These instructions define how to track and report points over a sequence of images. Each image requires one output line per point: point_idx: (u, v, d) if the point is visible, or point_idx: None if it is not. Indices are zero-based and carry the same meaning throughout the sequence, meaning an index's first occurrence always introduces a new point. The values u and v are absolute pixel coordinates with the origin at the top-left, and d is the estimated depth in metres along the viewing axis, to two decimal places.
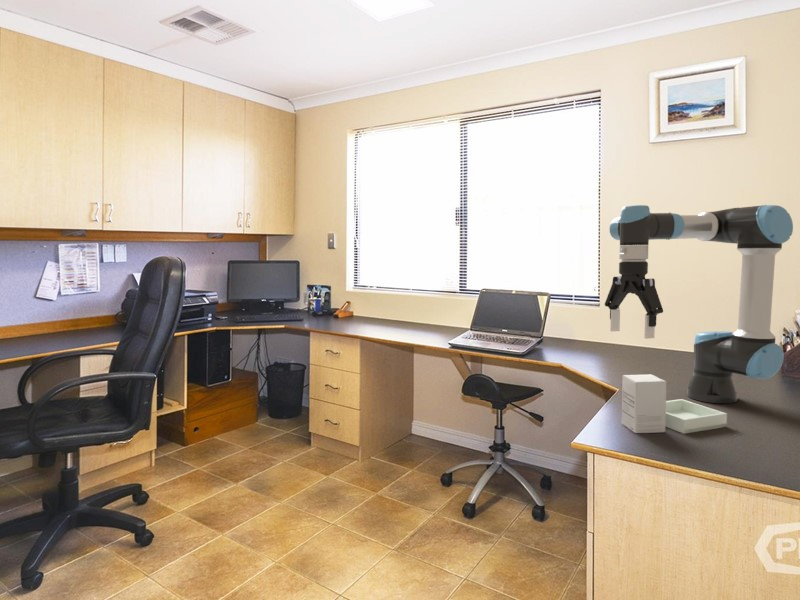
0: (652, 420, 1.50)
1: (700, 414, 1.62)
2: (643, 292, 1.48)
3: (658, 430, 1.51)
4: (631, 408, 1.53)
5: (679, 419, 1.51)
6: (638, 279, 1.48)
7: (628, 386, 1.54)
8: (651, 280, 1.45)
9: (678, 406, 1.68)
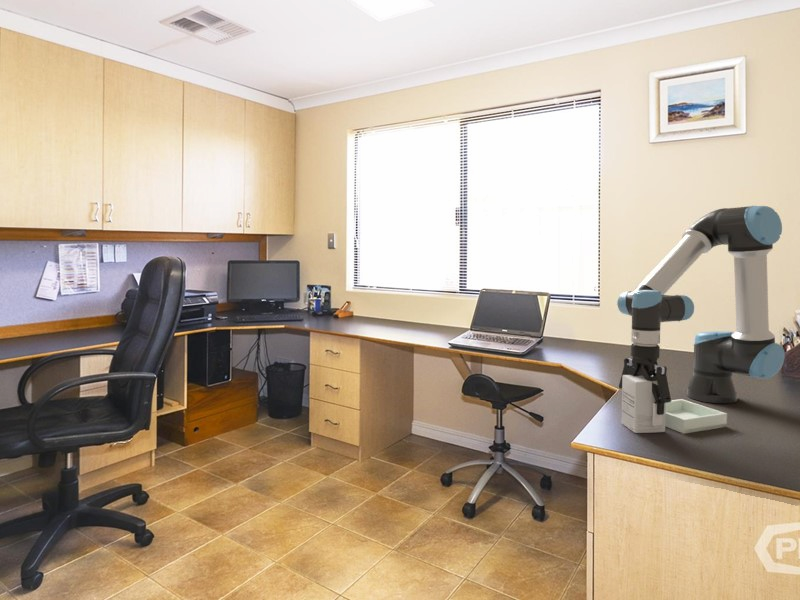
0: (652, 420, 1.50)
1: (700, 414, 1.62)
2: (654, 378, 1.50)
3: (658, 430, 1.51)
4: (630, 408, 1.53)
5: (679, 419, 1.51)
6: (650, 364, 1.50)
7: (627, 386, 1.54)
8: (663, 369, 1.47)
9: (678, 406, 1.68)
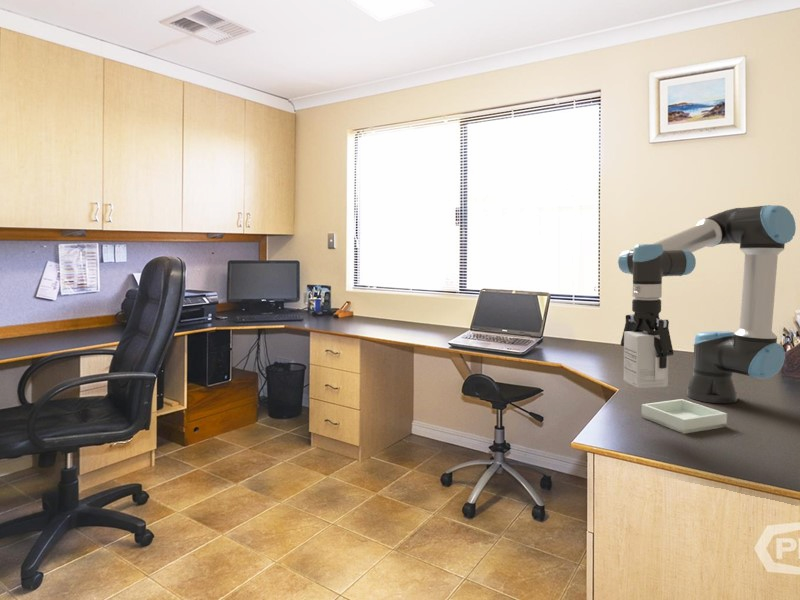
0: (654, 374, 1.49)
1: (700, 414, 1.62)
2: (656, 332, 1.49)
3: (660, 385, 1.50)
4: (633, 364, 1.51)
5: (679, 419, 1.51)
6: (652, 318, 1.48)
7: (629, 341, 1.53)
8: (665, 322, 1.46)
9: (678, 406, 1.68)
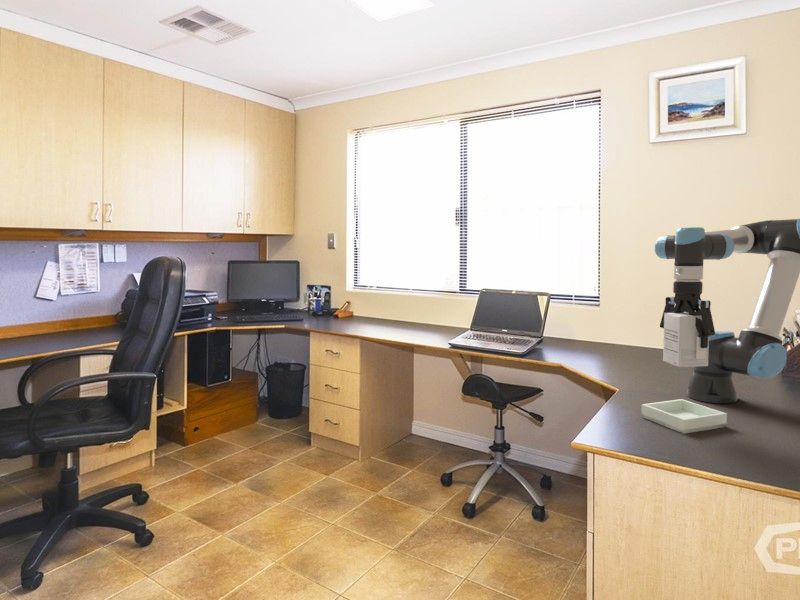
0: (695, 354, 1.53)
1: (700, 414, 1.62)
2: (697, 313, 1.53)
3: (701, 364, 1.54)
4: (674, 343, 1.56)
5: (679, 419, 1.51)
6: (694, 299, 1.53)
7: (670, 322, 1.57)
8: (707, 302, 1.50)
9: (678, 406, 1.68)
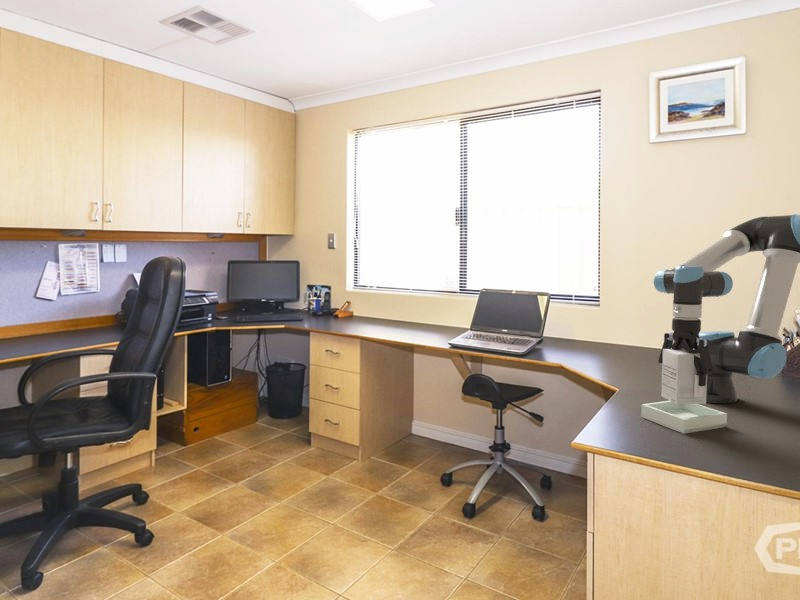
0: (693, 391, 1.54)
1: (700, 414, 1.62)
2: (695, 351, 1.54)
3: (699, 401, 1.55)
4: (672, 381, 1.57)
5: (679, 419, 1.51)
6: (692, 337, 1.54)
7: (669, 359, 1.58)
8: (706, 341, 1.51)
9: (678, 406, 1.68)
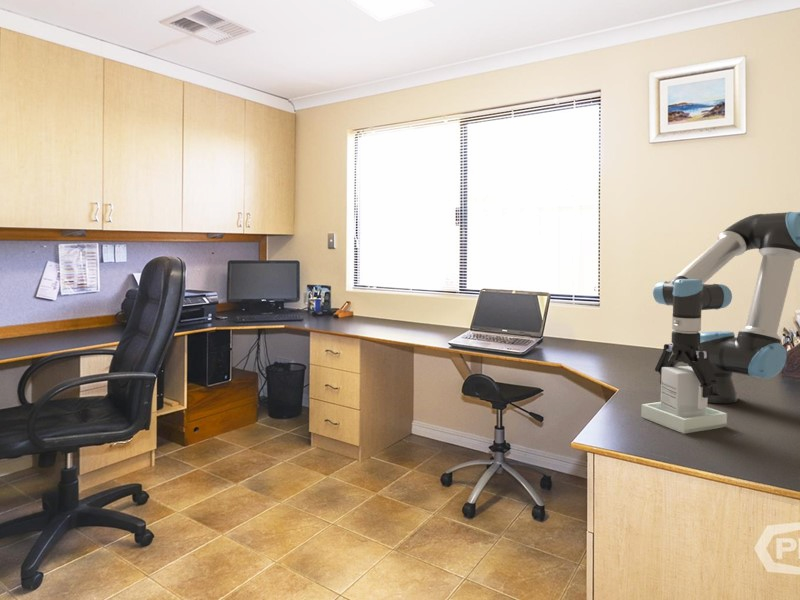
0: (693, 410, 1.55)
1: None
2: (696, 363, 1.54)
3: None
4: (672, 399, 1.57)
5: (679, 419, 1.51)
6: (691, 350, 1.54)
7: (668, 377, 1.59)
8: (705, 353, 1.51)
9: None
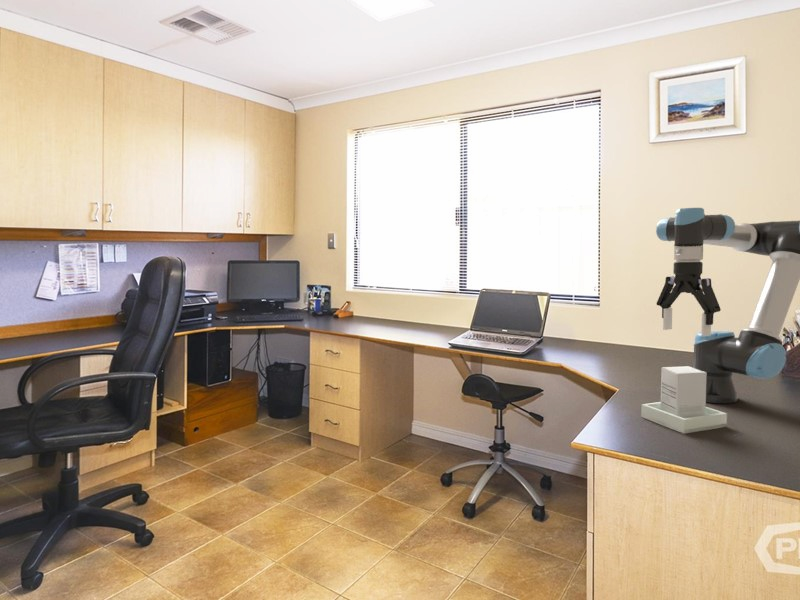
0: (693, 410, 1.55)
1: None
2: (699, 291, 1.53)
3: None
4: (672, 399, 1.57)
5: (679, 419, 1.51)
6: (694, 279, 1.53)
7: (668, 377, 1.59)
8: (708, 280, 1.51)
9: None
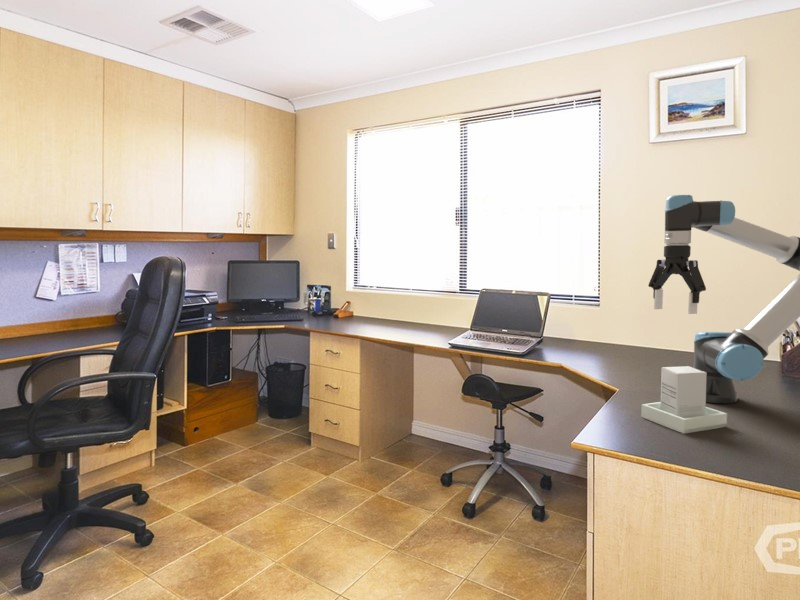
0: (693, 410, 1.55)
1: None
2: (687, 273, 1.66)
3: None
4: (672, 399, 1.57)
5: (679, 419, 1.51)
6: (682, 261, 1.66)
7: (668, 377, 1.59)
8: (695, 261, 1.63)
9: None
